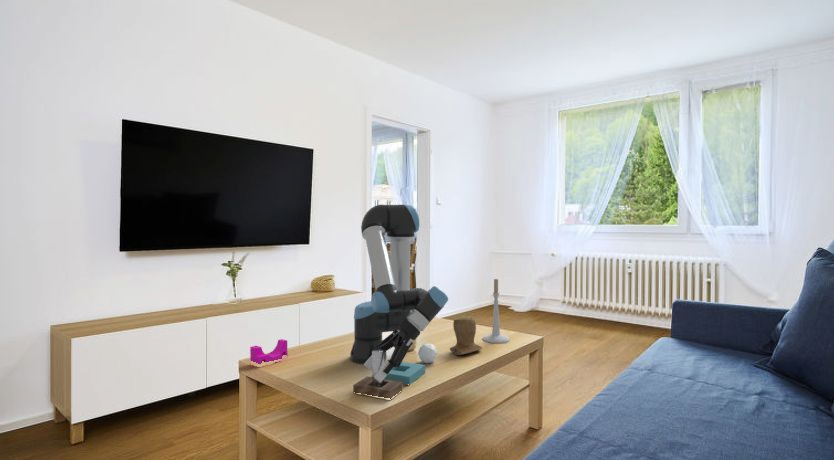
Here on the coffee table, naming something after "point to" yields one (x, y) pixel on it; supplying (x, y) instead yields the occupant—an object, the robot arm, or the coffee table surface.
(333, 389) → the coffee table surface
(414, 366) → the seat block
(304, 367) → the coffee table surface
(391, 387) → the brown rectangular frame
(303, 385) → the coffee table surface
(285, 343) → the magenta curved bracket
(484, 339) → the candlestick
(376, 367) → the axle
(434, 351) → the geometric ball
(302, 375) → the coffee table surface
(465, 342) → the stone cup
